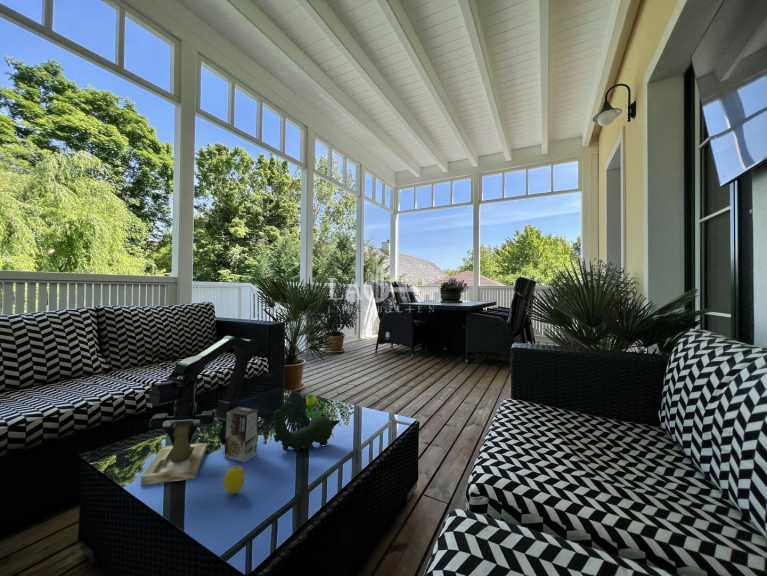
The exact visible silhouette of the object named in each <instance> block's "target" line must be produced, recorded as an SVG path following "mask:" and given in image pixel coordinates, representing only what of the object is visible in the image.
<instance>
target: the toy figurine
mask: <svg viewBox="0 0 767 576" xmlns="http://www.w3.org/2000/svg"><path fill="white" fill-rule="evenodd" d="M290 408H295V409H297V408H298V406H297V404H296V403H294V402H291V401H289V402H285V403H283V404H282V405H281V408H278V409H276V410H275V411H273V413H272V414H273V424H274V426H273V430H274V433H275V434H274V435H273V438H274V442H275V443H278V442H279V441H280V442H281V443H280V444H281V445H282V449H283V451H288V450H289V448H291V449H294V452H295V451H298V452H300V449H301V448H302V447H304V446H305V449H306V450H311V449H312V448H313V443H319V445H320V446H321V445H326V444H327V445H328V440H330V439H331V436H332V433H333V429H334V427H336V426H337V425H339V423H340V420H338V419H337V420H333V419H331V420H330V419H329V418H328V417H326V416H323V415H322V416H319V417H316V418H314V419H313V420H312V421H311V420H310V422H309V423H308V426H304V427H302V428H301V429H300V430H295V431H293V432H292V431H290V430H289V429H288V428H287V427H288V425H287V423H286V417H285V416H284V412H286V411H288V410H289V409H290ZM327 445H326V446H327Z"/></svg>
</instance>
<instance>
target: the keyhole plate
mask: <svg viewBox="0 0 767 576" xmlns="http://www.w3.org/2000/svg"><path fill="white" fill-rule="evenodd" d="M190 447H191V456H190V457H188V458H186V459H183V460H177V461H176V460H171V459H170V457H171V453H172V448H173V445H164V446H162V447H161V448H160V450H159V451H158V453H156V455H155V457H154V458H153V460H152V461H151V462H150V463H149V465H148V467H147V468H146V469H145V471H144V472H143V473H142V475H141V477H140V485H141V486H142V485H151V484H152V485H153V484H160V483H162V484H163V483H169V482H177V481H178V482H179V481H186V480H195V478H196V477H197V474H198V472H199V469H200V467H201V465H202V462H203V460H204V457H205V455H206V452H207V449H208V442H202V443H190Z"/></svg>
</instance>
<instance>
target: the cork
mask: <svg viewBox="0 0 767 576" xmlns="http://www.w3.org/2000/svg"><path fill="white" fill-rule="evenodd" d="M191 425H192V424H191V422H189V421H184V422H178V423H176V426H175V428H174V433H175V440H174V444H172V446H173V448H172V453H171V457H170V459H171V460H176V461H177V460H183V459H186V458H188V457H190V456H191V447H190V444H191V443H190V444H189V435H190V429H191Z"/></svg>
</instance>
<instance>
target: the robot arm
mask: <svg viewBox="0 0 767 576" xmlns="http://www.w3.org/2000/svg"><path fill="white" fill-rule="evenodd" d="M258 345H259V344H258V343H257V341H256V340H255V339H250V338H245V337H243V338H240V337H236V336H231V335H225V336H224V337H223V338H222V339H220V340H219V341H217V342H216V343H213V345H211V346H210V347H207V349H204V350H203V351H201V352H200V353H198V354H197V355H194V356H190V357H186V358H184V359H182V360H180V361H178V362H177V363H175V366H174V369H173V370H172V371H171V373H170V374H169V376H168V377H167V378H166V380H165V382H158V383H154V385H153V388H151V390H150V392H149V393H148V400H149V403H150V405H151V406H153V407H157V406H161V405H164V404H169V403H173V402H174V404H173V410H174V413H173V415H172V416H171V415H170V416H169V414H168V413H169V412H165V413H156V414H155V415H153V416H152V417H151V418H150V420H149V421H148V428H150V429H152V428H154V429H155V428H160V427H161V430H162V431H163V430H164V431H165V433H166V434H167V435H168V437H169V440H170V442H171V444H172V445H173V444H174V440H175V435H176V434H175V433H174V428H175V426H176V425H177V423H183V422H192V424H191V429H190V435H189V444H192V440H193V438H194V435H195V433H196V430H197V429H198V428H200V427H202V426H203V425H211V424H213V423H214V421H215V419H218V422H219V423H222V424H221V426H220V430H219V439H220V441H219V442H220V443H225V439H226V421H227V412H228V411H231V410H233V409H235V408H237V407H242V406H241V401H240V395H241V391H242V387H243V383H244V380H245V375H246V372H247V369H248V365H249V362H250V361H251V360H252V359H253V358H254V356H255V355H256V352H257V350H258ZM230 349H233V350H234V353H233V354H234V357H235V361H234V366H233V369H232V372H231V375H230V376H231V377H230V380H229V383H228V386H227V391H226V394H225V396H224V398H223V399H221V400H220V399H219V400H218V401H217V405H216V408H215V410H203V411H202V413H201V414H196V412H197V406H198V405H197V404H198V403H197V402H196V401H195V399H196V397H195V396H196V385H197V384H201V383H202V382H203V381H202V380H201V379H200V378H199V375H201V374H202V373H203V372H204V370H205V368H206V367H207V366H208V365H209V364H210V363H211V362H213V361H215V360H216V359H218V358H219V357H220V356H222V355H224V354H225V353H226V352H228V351H229V350H230Z"/></svg>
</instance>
